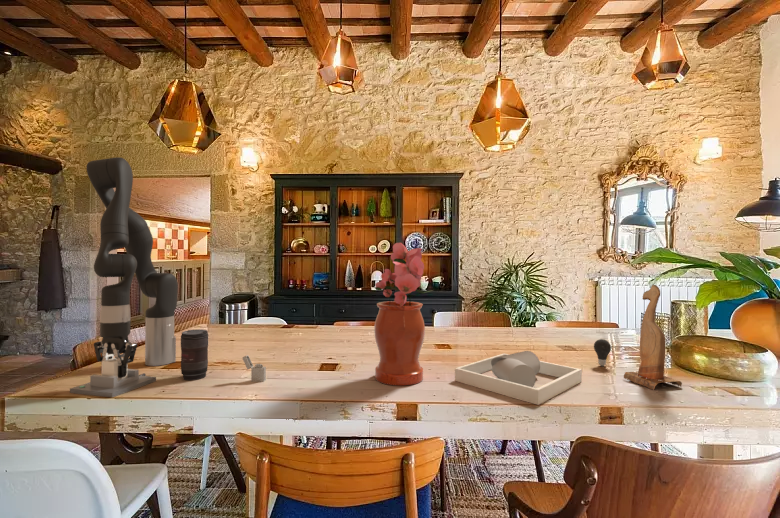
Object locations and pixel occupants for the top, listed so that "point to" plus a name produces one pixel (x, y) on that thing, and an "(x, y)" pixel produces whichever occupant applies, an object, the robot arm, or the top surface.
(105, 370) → the charger block
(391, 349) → the potted flower
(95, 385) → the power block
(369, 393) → the top surface
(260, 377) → the lighter
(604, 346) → the light bulb
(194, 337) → the camera lens
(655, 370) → the bird sculpture
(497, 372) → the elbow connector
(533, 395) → the roll tray
